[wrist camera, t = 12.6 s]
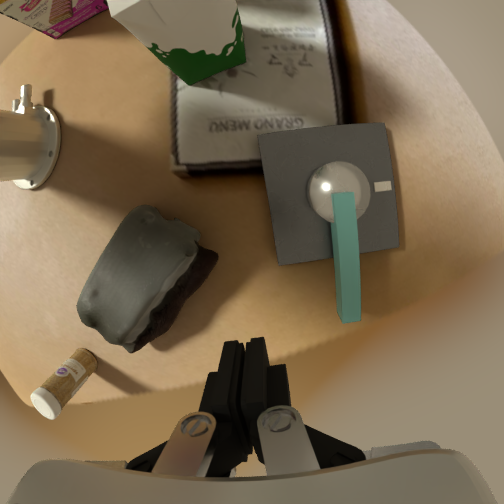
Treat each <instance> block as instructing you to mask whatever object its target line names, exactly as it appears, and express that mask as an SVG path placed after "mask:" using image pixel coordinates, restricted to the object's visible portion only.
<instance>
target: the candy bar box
mask: <svg viewBox="0 0 504 504" xmlns="http://www.w3.org/2000/svg"><path fill="white" fill-rule="evenodd" d="M108 8H109V6H108V3H107V0H0V13H1V14H3V15H6V16H8V17H10V18H12V19H15V20H17V21H19V22H21V23H24V24H26V25H28V26H30V27H32V28H34V29H36V30H38V31H40V32H42V33H44V34H46V35H48V36H50V37H52V38H54V39H57V38H58V37H60V36H61V35H63V34H64V33H66V32H67V31H69V30H70V29H72V28H74V27H75V26H77V25H79V24H80V23H82V22H84V21H86V20H87V19H89V18H91V17H93V16H95V15H96V14H98V13H100V12H102V11H104V10H106V9H108Z"/></svg>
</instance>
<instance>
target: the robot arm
mask: <svg viewBox="0 0 504 504" xmlns="http://www.w3.org/2000/svg"><path fill="white" fill-rule="evenodd" d="M31 96H32V85H30V84H27V85H24V86H22V87H21V90H20V99H21V102H20V100H19V99H16V100H13V101H12V111H6V110H0V181H11V180H12V181H13V182H14V183H15V185H17V186H18V187H19V188H21V189H26V190H28V189H34V188H37V187H39V186H40V185H42V184H43V183H44V182H45V181H46V180H47V178H48V177H49V175H50V174H51V172H52V170H53V168H54V166H55V164H56V161H57V158H58V154H59V150H60V142H61V131H60V124H59V121H58V118H57V116H56V114H55V113H54V112H53V111H52V110H51V109H50V108H48V107H45V106H34V107H33V103H32V102H31ZM253 447H254V450H255V453H256V454H257V457H258V460H259V461H260V462H261V463H263V464H264V465H265V468H266V472H267V476H257V477H235V475H236V466H237V465H239V464H240V463H241V462H247V458H248V457H247V456H248V454H252V452H253ZM6 504H497V502H496V500H495V498H494V496H493V494H492V492H491V490H490V488H489V486H488V484H487V482H486V481H485V479H484V478H483V476H482V474H481V473H480V471H479V470H478V469H477V467H476V466H475V465H474V464H473V462H472V461H471V460H470V459H469V458H468V457H467V456H465V455H464V454H462V453H460V452H458V451H455V450H451V449H441V448H440V446H439V445H437V444H436V443H434V442H432V441H420V442H414V443H407V444H400V445H393V446H384V447H374V448H372V449H371V450H369V451H362V450H360V449H358V448H357V447H354V446H352V445H350V444H347V443H345V442H342V441H340V440H338V439H335V438H333V437H331V436H329V435H326V434H324V433H322V432H320V431H318V430H316V429H313V428H311V427H309V426H307V425H305V424H304V423H303V421H302V418H301V415H300V413H299V412H298V411H297V410H296V409H295V408H293V407H291V400H290V391H289V383H288V377H287V370H286V364H280V365H273V366H270V365H269V359H268V354H267V349H266V344H265V339H264V337H258V338H251V342H247V343H246V350H245V348H244V345H243V343H239V342H238V340H235V341H226V342H224V346H223V350H222V354H221V359H220V363H219V367H218V372H210V373H209V374H208V377H207V381H206V385H205V389H204V392H203V396H202V400H201V403H200V407H199V411H198V412H194V413H190V414H188V415H186V416H184V417H183V418H181V419H180V421H179V422H178V424H177V425H176V427H175V429H174V431H173V433H172V434H171V436H170V439H169V440H168V441H166V442H164V443H162V444H160V445H159V446H157V447H155V448H153V449H151V450H149V451H148V452H146V453H144V454H142V455H140V456H138V457H136V458H135V459H133V460H131V461H130V462H129V463H127V462H126V461H80V460H72V459H47V460H43V461H39V462H37V463H36V464H34V465H33V466H32V467H31V468H30V469H29V470H28V471H27V472H26V474H25V475H24V476H23V478H22V479H21V481H20V482H19V483H18V485H17V486H16V488H15V490H14V491H13V493H12V494H11V496H10V498H9V499H8V501H7V503H6Z"/></svg>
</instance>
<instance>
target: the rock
mask: <svg viewBox="0 0 504 504" xmlns="http://www.w3.org/2000/svg"><path fill="white" fill-rule="evenodd" d="M199 239H200V233H199V231H198V230H196V229H195V228H193V227H191V226H188V225H186V224H185V223H183V222H181V221H180V220H179V219H177V218H174V220H170V221H167V220H165V219H164V218H162V216H161V215H160V213H159V212H158V210H157V209H156V208H154V207H152V206H150V205H140V206H137V207H136V208H134V209H133V210H132V211H131V212H130V213H129V214H128V215H127V216H126V217H125V218H124V220H123V221H122V223H121V224H120V225H119V227H118V228H117V230H116V232H115V233H114V235H113V237H112V238H111V240H110V242H109V243H108V245H107V246H106V248H105V250H104V251H103V253H102V255H101V256H100V258H99V260H98V262H97V263H96V265H95V267H94V269H93V270H92V272H91V274H90V276H89V278H88V280H87V282H86V284H85V286H84V288H83V290H82V292H81V294H80V297H79V299H78V302H77V305H76V306H77V311H78V314H79V317H80V319H81V321H82V322H83V323H84V324H85V325H86V326H88V327H91V328H94V329H96V330H97V331H98V332H99V333H100V334H101V335H102V336H103V337H104V339H105V340H106V341H108V342H109V343H111V344H115V345H120V346H123V347H124V348H125V349H126V350H127V351H128V352H129V353H134V352H136V351H138V350H140V349H141V348H142V347H143V346H145V345H146V344H147V343H149V342H150V341H152V340H154V339H155V338H157V337H158V336H160V335H162V334H164V333H165V332H166V331H167V330H168V329H169V328H170V327H171V325H172V324H173V322H174V321H175V319H176V318H177V316H178V314H179V311H180V309H181V307H182V306H183V304H184V302H185V301H186V299H187V298H188V297H190V296H191V295H192V294H193V293H194V292H195V291H196V290H197V289H198V288H199V287H200V286H201V285H202V283H203V282H204V281H205V279H206V278H207V277H208V275H209V273H210V272H211V270H212V269H213V267H214V266H215V265H216V263H217V261H218V258H219V257H218V254H217V253H216V252H214V251H212V250H208V249H205V248H203V247H202V246H200V245H199V244H198V241H199Z"/></svg>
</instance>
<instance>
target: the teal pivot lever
mask: <svg viewBox="0 0 504 504" xmlns="http://www.w3.org/2000/svg"><path fill="white" fill-rule="evenodd" d="M370 194H371V193H370V185H369V182H368V180H367V178H366V176H365V174H364V173H363V172H362V171H361V170H360V169H359V168H358V167H356V166H355V165H353V164H351V163H348V162H343V161H336V162H331V163H328V164H325V165H323V166H321V167H319V168H318V169H317V170H315V171H314V173H313V174H312V175H311V177H310V179H309V181H308V184H307V198H308V201H309V204H310V206H311V207H312V209H313V210H314V211H315V212H316V213H317V214H318V215H319V216H321V217H322V218H324V219H325V220H327V221H329V222H331V232H332V243H333V255H334V268H335V283H336V301H337V313H338V315H339V317H340V319H341V321H342V324H344V323H350V322H356V321H361V284H360V260H359V243H358V229H357V219H358V218H359V217H360V216H362V214H363V213H364V212H365V211H366V209H367V207H368V205H369V201H370Z"/></svg>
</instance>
